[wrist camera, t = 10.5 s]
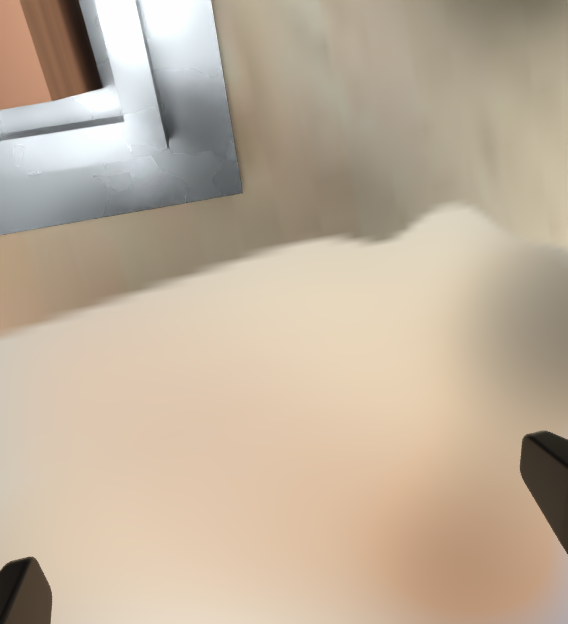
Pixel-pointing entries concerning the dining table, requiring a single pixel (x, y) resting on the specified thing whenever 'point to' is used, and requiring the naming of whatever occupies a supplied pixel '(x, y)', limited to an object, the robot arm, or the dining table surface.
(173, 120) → the socket block
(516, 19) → the dining table surface
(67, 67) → the pin
